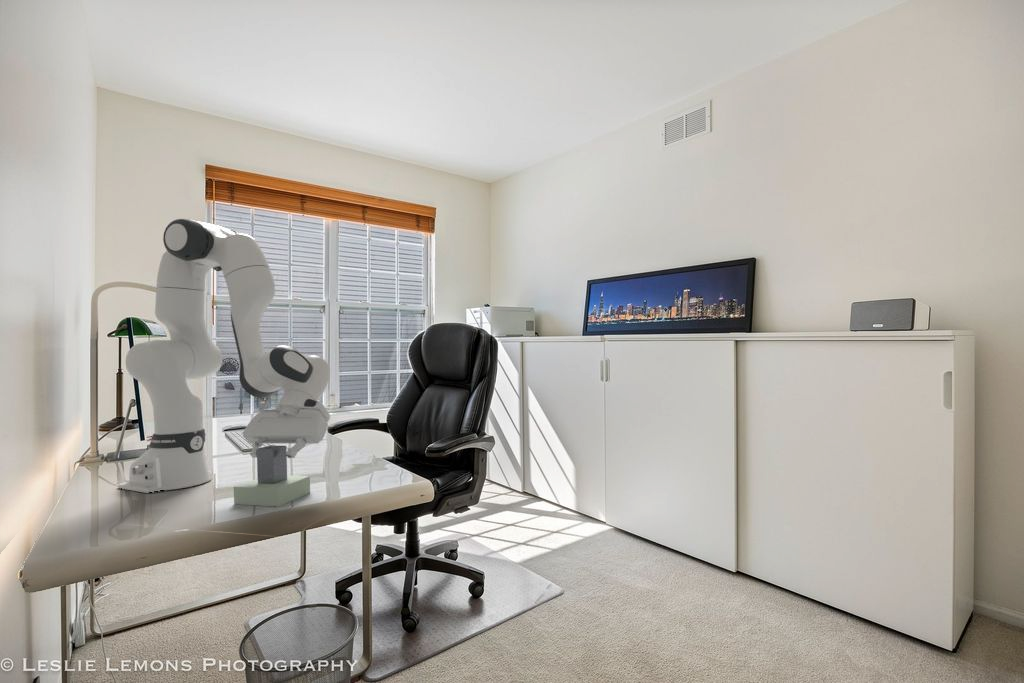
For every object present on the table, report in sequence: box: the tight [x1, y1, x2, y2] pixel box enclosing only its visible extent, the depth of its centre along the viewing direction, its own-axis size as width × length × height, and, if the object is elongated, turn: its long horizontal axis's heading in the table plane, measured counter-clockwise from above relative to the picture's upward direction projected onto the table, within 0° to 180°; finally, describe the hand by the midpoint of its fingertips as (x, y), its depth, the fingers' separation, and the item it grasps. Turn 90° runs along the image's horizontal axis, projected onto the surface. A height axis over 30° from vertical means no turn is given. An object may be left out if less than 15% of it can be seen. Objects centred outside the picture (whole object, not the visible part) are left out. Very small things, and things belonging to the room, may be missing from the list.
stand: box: [233, 474, 311, 508], centre depth 119 cm, size 12×11×4 cm
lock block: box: [256, 444, 288, 484], centre depth 119 cm, size 4×4×8 cm
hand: (271, 456), depth 119 cm, fingers open, 8 cm apart
